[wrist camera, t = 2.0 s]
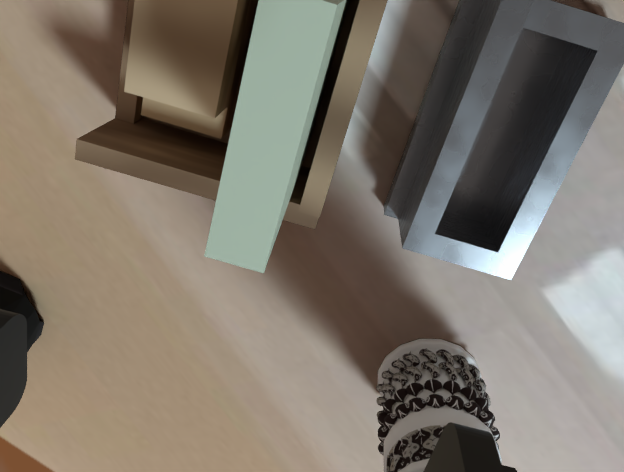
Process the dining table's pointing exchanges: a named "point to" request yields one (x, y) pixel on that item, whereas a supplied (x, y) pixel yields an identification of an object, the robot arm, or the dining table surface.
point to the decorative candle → (427, 400)
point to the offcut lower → (198, 121)
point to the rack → (211, 150)
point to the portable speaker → (19, 306)
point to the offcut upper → (185, 52)
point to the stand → (501, 128)
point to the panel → (272, 125)
